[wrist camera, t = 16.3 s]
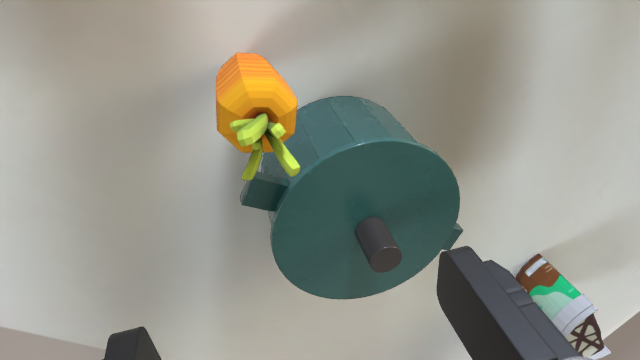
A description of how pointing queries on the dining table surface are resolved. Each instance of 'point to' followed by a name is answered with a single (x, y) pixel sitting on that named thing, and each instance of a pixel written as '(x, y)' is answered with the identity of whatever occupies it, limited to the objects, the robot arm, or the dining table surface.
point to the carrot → (256, 110)
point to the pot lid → (364, 218)
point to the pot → (323, 145)
